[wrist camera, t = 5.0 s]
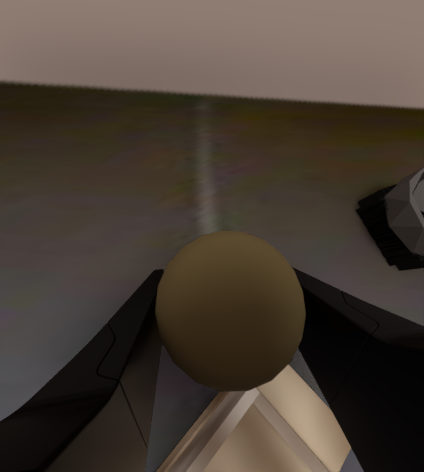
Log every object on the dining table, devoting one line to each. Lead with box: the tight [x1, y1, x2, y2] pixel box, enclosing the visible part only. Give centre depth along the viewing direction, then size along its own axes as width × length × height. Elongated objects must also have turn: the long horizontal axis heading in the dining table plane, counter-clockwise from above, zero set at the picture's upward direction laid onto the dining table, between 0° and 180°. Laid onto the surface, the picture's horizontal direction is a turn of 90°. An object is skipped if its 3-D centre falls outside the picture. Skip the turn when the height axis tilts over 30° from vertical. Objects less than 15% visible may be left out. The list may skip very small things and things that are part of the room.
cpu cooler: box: [356, 167, 424, 270], centre depth 21 cm, size 10×6×10 cm
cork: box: [155, 231, 306, 392], centre depth 10 cm, size 6×6×11 cm
